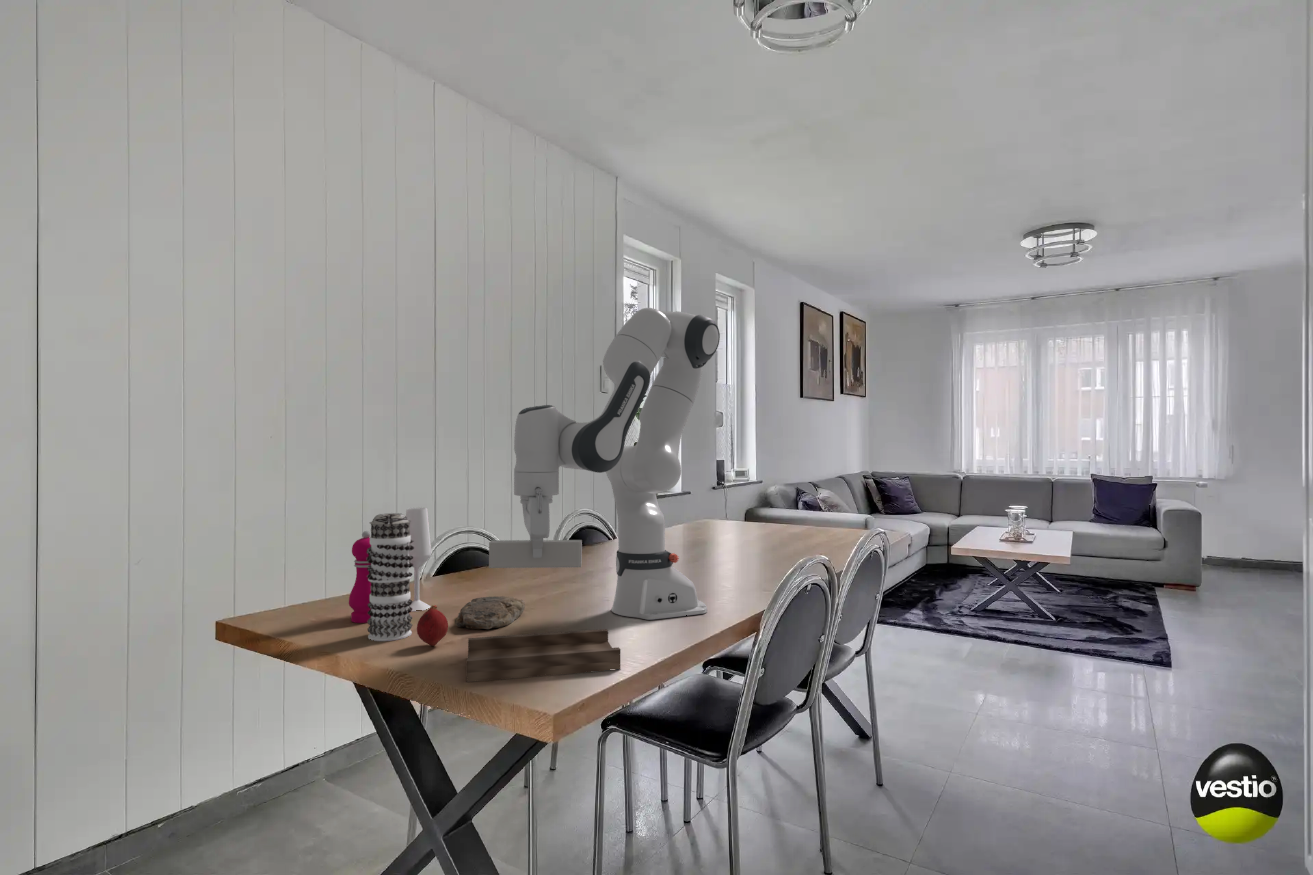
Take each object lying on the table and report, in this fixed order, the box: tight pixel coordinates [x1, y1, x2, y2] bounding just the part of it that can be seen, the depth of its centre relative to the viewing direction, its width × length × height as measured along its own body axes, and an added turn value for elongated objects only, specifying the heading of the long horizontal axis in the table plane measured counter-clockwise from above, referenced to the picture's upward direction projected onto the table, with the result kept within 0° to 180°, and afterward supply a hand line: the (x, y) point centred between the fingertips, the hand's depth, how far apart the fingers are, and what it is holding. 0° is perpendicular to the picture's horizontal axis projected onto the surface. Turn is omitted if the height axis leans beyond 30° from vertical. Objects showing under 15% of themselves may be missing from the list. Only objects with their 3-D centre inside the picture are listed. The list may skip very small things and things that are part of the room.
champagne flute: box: [405, 506, 432, 612], centre depth 168 cm, size 7×7×24 cm
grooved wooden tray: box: [466, 628, 621, 683], centre depth 125 cm, size 26×14×4 cm, turn 104°
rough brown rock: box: [455, 595, 526, 630], centre depth 156 cm, size 14×5×20 cm
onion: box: [416, 604, 449, 647], centre depth 136 cm, size 6×6×8 cm
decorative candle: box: [366, 512, 414, 642], centre depth 144 cm, size 9×9×25 cm
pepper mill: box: [348, 530, 371, 624], centre depth 157 cm, size 7×7×20 cm
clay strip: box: [488, 539, 583, 569], centre depth 139 cm, size 18×3×5 cm, turn 94°
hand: (536, 555), depth 139 cm, fingers closed on clay strip, 3 cm apart
